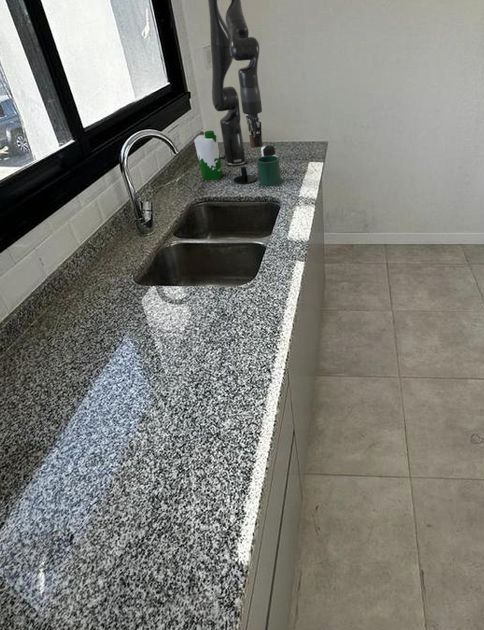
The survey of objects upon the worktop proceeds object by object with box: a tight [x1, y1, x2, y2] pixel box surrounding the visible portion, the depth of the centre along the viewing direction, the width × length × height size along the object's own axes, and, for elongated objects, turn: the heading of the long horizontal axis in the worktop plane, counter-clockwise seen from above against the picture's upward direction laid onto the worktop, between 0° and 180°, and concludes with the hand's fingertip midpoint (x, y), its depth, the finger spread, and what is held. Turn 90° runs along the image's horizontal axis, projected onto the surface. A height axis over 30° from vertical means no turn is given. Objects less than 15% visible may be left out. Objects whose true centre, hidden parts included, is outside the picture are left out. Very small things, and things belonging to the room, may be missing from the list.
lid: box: [233, 166, 258, 185], centre depth 190 cm, size 10×10×6 cm
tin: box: [256, 155, 282, 187], centre depth 186 cm, size 9×9×10 cm
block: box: [248, 134, 264, 149], centre depth 176 cm, size 4×4×4 cm
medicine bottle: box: [260, 145, 279, 158], centre depth 196 cm, size 7×7×12 cm
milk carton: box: [193, 130, 224, 181], centre depth 191 cm, size 9×9×20 cm
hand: (256, 145), depth 177 cm, fingers closed on block, 4 cm apart
